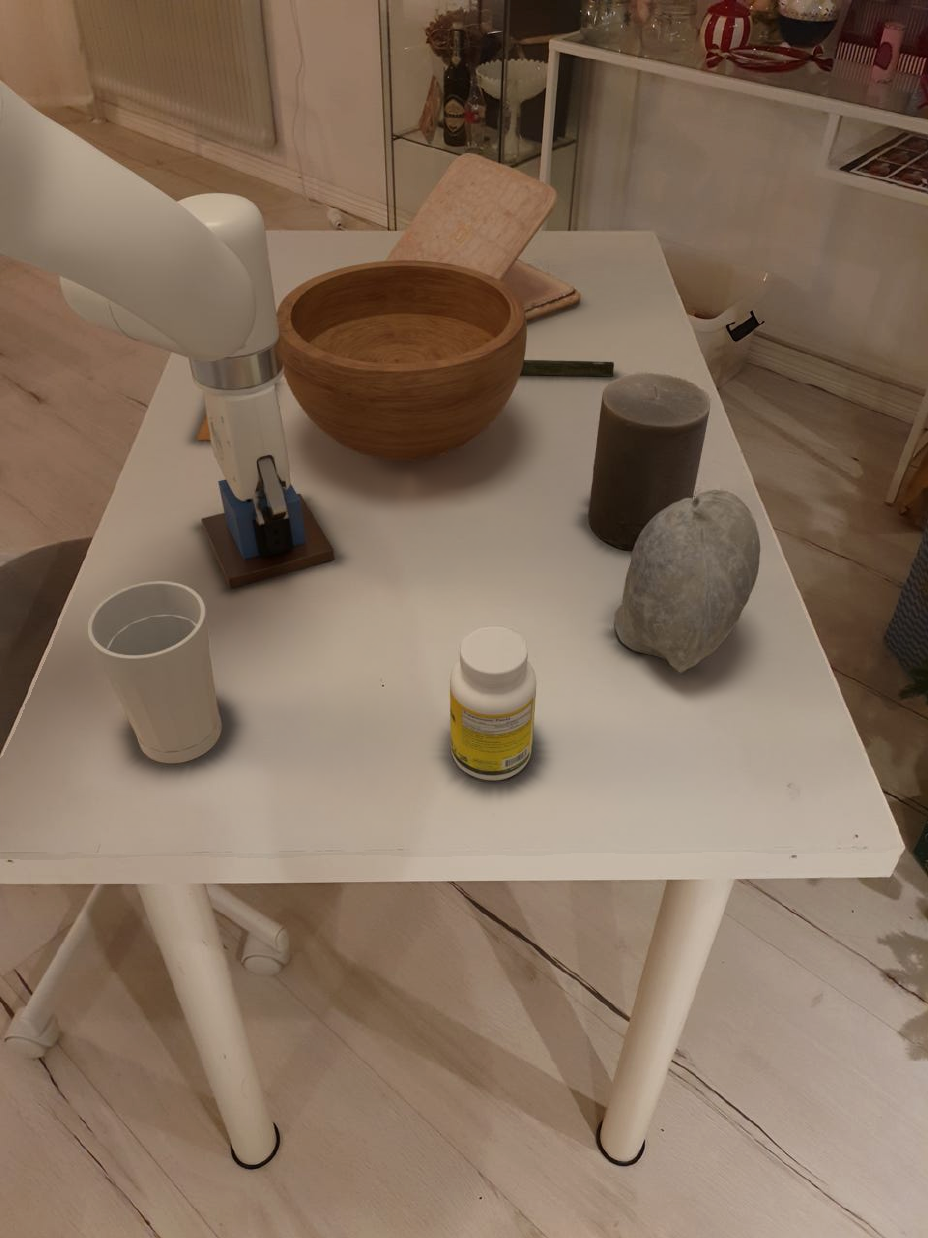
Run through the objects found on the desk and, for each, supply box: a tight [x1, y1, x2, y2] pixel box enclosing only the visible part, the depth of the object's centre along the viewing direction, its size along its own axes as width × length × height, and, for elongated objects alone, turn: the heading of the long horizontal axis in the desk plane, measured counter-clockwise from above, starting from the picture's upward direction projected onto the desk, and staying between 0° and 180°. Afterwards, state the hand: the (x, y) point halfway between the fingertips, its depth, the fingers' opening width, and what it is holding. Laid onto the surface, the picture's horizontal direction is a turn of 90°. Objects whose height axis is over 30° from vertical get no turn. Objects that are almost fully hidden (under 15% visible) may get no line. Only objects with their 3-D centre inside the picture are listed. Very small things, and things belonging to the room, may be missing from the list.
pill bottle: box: [449, 625, 537, 781], centre depth 71 cm, size 6×6×11 cm
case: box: [384, 152, 581, 321], centre depth 128 cm, size 20×21×16 cm
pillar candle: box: [587, 371, 712, 552], centre depth 91 cm, size 10×10×15 cm
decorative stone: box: [614, 489, 761, 673], centre depth 79 cm, size 15×10×15 cm
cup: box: [87, 580, 223, 764], centre depth 72 cm, size 8×8×12 cm
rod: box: [520, 359, 615, 377], centre depth 117 cm, size 31×1×2 cm, turn 88°
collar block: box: [217, 478, 306, 560], centre depth 91 cm, size 6×6×5 cm
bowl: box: [276, 260, 528, 462], centre depth 102 cm, size 25×25×15 cm
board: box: [196, 413, 211, 442], centre depth 111 cm, size 6×12×2 cm, turn 179°
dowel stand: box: [200, 482, 335, 589], centre depth 91 cm, size 10×10×7 cm
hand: (265, 530), depth 92 cm, fingers closed on collar block, 6 cm apart
